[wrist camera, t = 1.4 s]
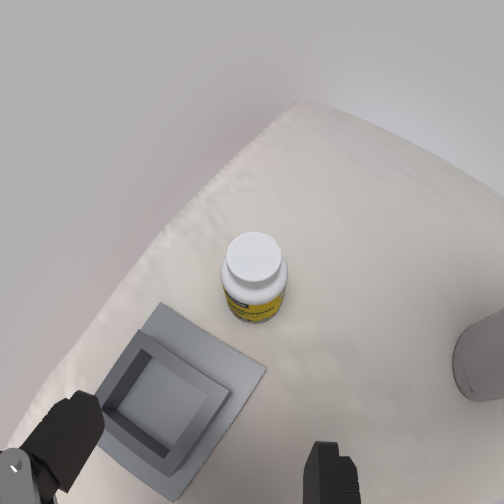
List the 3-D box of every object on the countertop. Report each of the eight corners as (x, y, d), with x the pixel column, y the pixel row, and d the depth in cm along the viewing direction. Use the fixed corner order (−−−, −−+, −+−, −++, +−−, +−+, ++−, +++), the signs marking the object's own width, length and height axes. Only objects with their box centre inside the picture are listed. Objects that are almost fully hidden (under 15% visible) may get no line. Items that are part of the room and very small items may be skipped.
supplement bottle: (221, 318, 30) (206, 281, 22) (234, 269, 33) (225, 216, 24) (276, 329, 30) (285, 296, 21) (286, 278, 32) (296, 228, 23)
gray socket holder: (163, 305, 31) (149, 289, 27) (266, 369, 28) (267, 364, 24) (82, 425, 25) (57, 426, 21) (176, 499, 22) (163, 514, 18)
